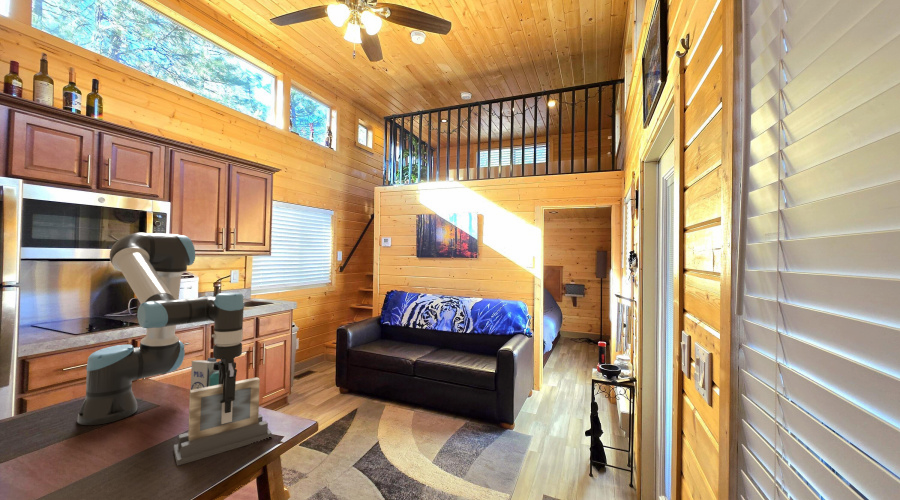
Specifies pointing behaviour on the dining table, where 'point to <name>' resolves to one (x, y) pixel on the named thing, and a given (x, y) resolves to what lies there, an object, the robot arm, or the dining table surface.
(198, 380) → the milk carton
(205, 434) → the picture frame
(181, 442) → the display stand
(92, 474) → the dining table surface
